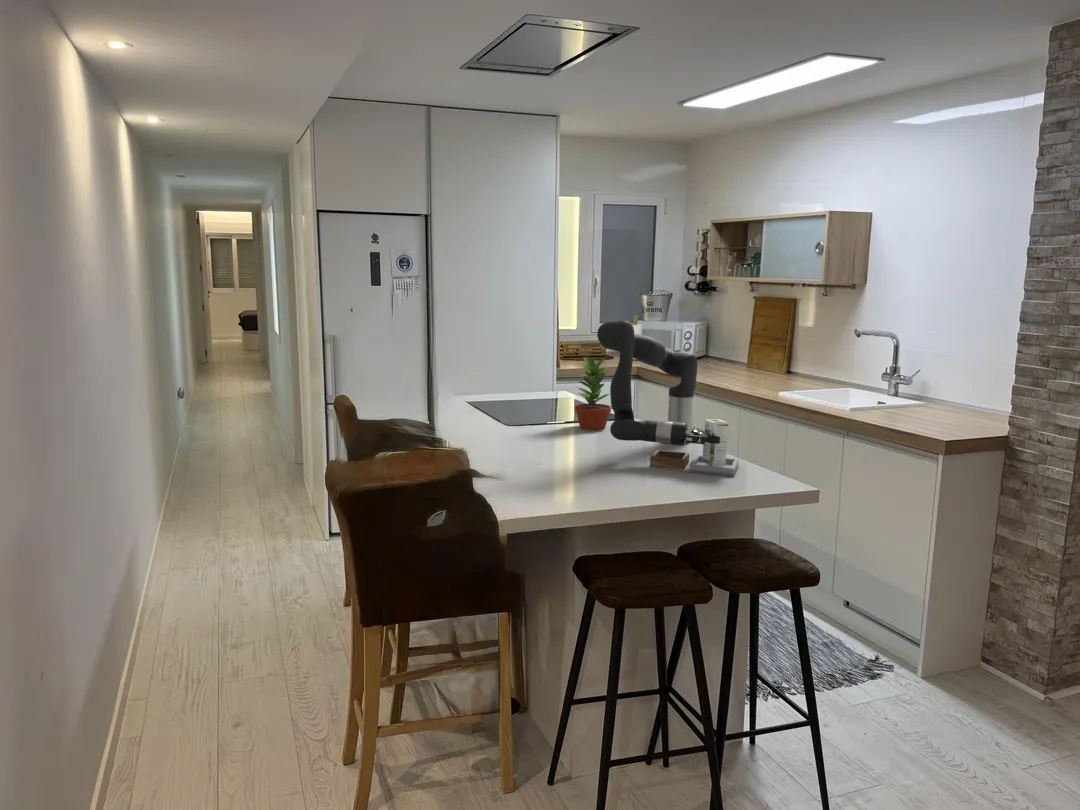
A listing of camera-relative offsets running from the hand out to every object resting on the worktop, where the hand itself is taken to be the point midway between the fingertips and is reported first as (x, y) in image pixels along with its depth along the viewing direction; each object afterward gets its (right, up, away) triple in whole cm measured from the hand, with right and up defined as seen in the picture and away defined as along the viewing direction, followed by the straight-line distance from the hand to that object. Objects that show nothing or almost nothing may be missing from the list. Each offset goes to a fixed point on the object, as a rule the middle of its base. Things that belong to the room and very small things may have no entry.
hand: (721, 437), depth 262 cm
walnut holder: (-16, -9, +7) cm, 19 cm away
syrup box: (-2, -9, +2) cm, 9 cm away
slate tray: (-2, -10, +2) cm, 11 cm away
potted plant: (-37, +1, +67) cm, 77 cm away
